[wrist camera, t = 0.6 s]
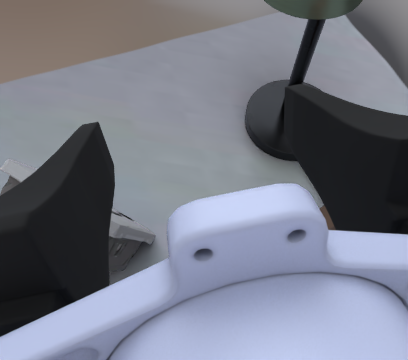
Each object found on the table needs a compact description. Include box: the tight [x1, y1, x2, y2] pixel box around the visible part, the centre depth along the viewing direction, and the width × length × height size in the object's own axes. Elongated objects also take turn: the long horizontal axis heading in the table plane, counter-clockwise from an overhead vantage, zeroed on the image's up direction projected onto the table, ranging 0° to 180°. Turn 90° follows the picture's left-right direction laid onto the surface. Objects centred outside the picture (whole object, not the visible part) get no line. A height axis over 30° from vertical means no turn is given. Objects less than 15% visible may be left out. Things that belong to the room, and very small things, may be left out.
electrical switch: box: [0, 159, 156, 271], centre depth 27 cm, size 9×5×9 cm, turn 59°
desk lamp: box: [245, 0, 362, 161], centre depth 28 cm, size 16×9×18 cm, turn 24°
